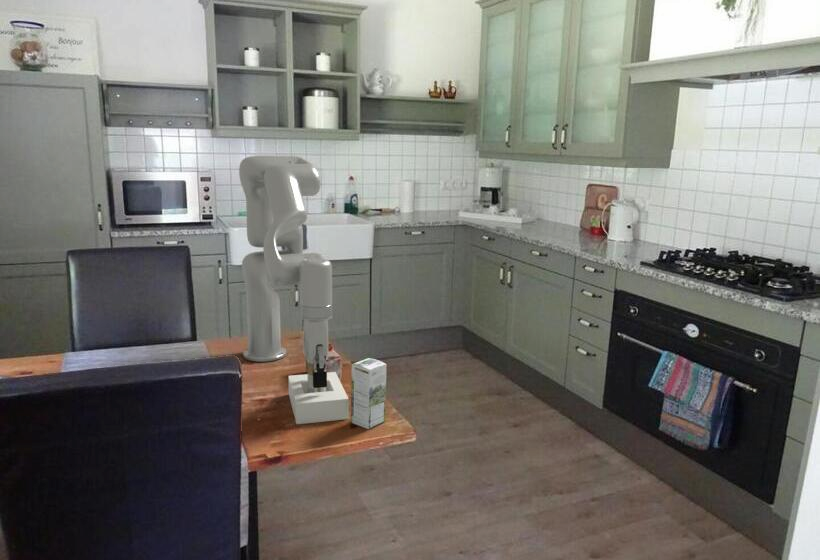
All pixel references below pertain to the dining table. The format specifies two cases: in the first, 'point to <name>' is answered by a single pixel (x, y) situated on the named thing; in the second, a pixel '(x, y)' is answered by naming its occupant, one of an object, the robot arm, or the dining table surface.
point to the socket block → (318, 400)
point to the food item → (332, 362)
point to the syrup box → (368, 393)
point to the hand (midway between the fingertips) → (317, 379)
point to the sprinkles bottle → (310, 379)
